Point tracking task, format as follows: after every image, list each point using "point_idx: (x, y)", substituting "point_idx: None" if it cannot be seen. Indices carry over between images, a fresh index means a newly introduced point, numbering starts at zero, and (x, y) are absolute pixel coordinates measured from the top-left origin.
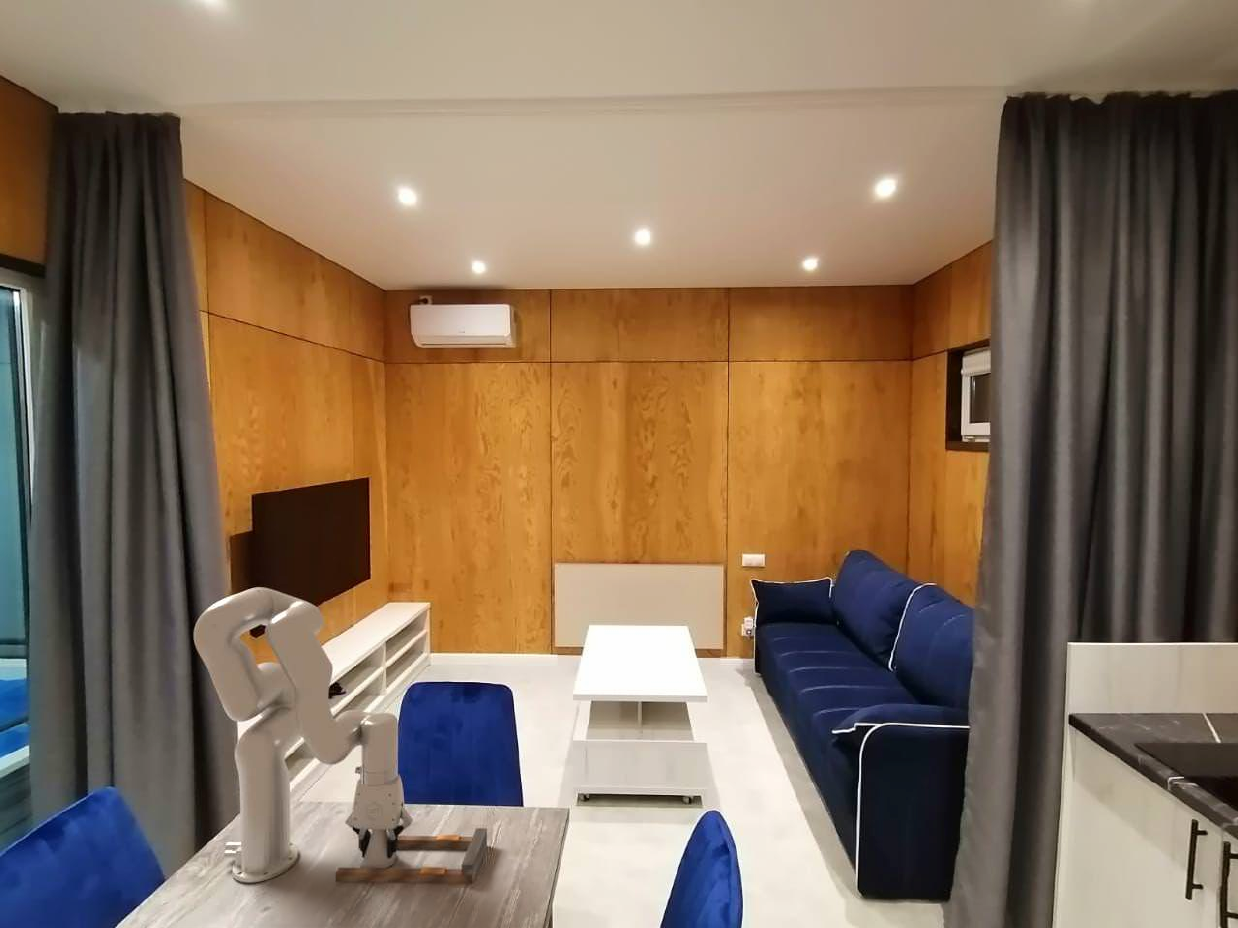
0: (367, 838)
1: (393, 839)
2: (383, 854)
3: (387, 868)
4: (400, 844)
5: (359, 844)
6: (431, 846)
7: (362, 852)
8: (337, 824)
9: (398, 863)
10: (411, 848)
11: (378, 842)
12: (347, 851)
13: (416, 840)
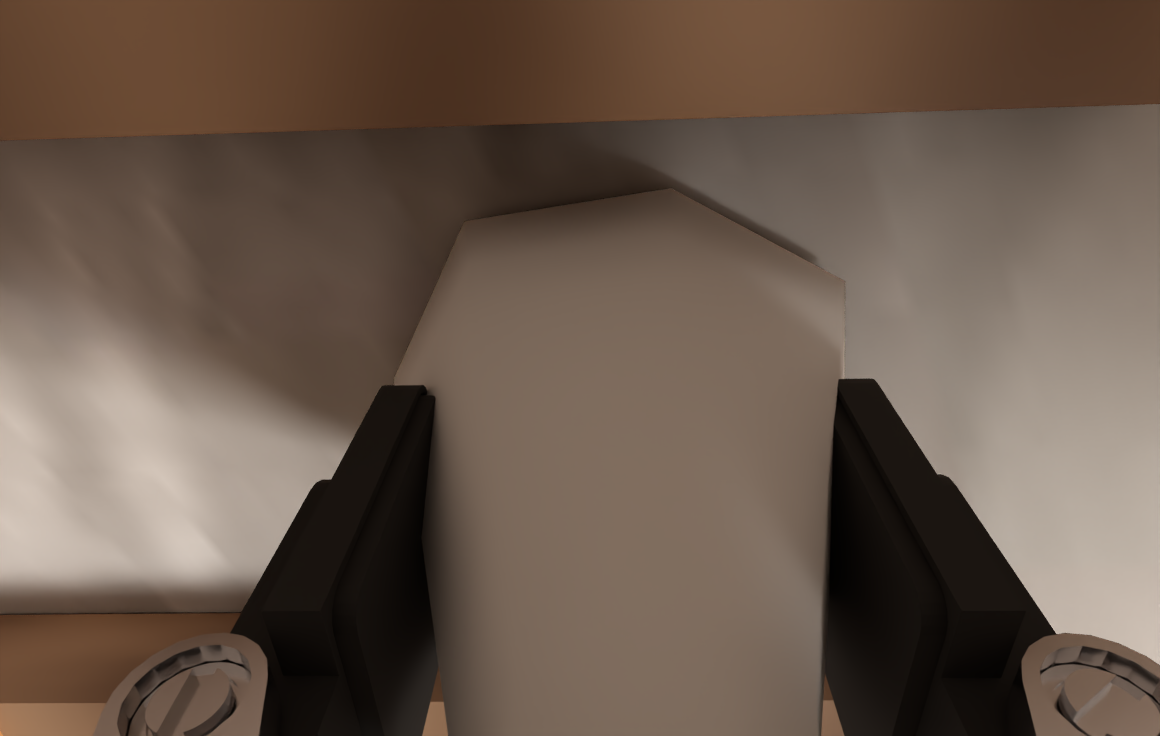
0: (896, 672)
1: (191, 649)
2: (467, 395)
3: (275, 125)
4: None
5: None
6: (97, 635)
7: (894, 424)
8: None
9: (348, 389)
10: None
11: (569, 572)
12: (1096, 553)
13: None
